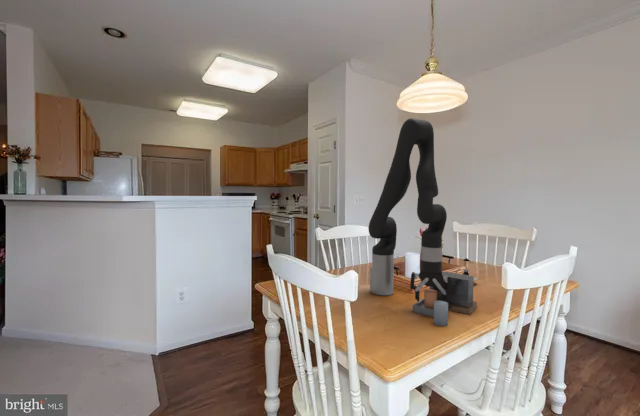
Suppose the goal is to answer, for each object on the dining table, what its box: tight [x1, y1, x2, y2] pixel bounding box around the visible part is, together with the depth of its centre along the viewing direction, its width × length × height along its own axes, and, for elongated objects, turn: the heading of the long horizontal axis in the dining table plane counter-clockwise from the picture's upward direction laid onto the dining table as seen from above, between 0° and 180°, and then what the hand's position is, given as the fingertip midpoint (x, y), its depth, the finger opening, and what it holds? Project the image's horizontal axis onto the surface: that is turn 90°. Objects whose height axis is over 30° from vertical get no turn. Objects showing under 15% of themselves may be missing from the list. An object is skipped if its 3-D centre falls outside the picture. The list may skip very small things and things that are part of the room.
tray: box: [411, 298, 434, 318], centre depth 113 cm, size 10×10×2 cm
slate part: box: [433, 300, 449, 327], centre depth 103 cm, size 4×4×7 cm
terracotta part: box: [423, 288, 437, 310], centre depth 113 cm, size 4×4×7 cm
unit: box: [429, 270, 478, 316], centre depth 119 cm, size 16×10×12 cm, turn 50°
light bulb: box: [462, 258, 479, 284], centre depth 149 cm, size 12×10×10 cm
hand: (430, 302), depth 113 cm, fingers open, 8 cm apart
